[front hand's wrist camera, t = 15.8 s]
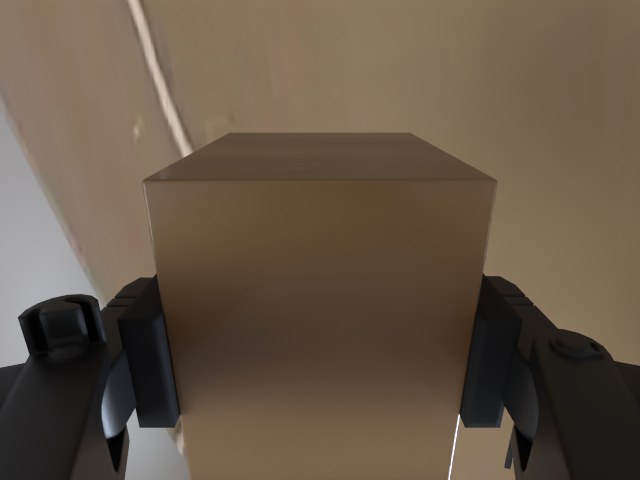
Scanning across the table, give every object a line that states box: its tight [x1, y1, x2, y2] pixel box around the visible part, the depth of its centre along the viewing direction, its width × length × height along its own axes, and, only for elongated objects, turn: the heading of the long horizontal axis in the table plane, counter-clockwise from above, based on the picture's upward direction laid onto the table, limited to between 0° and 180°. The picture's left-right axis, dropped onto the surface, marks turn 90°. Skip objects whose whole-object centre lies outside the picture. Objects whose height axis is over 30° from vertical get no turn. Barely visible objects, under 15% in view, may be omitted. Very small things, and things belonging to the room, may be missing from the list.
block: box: [142, 133, 497, 480], centre depth 12 cm, size 8×6×7 cm
